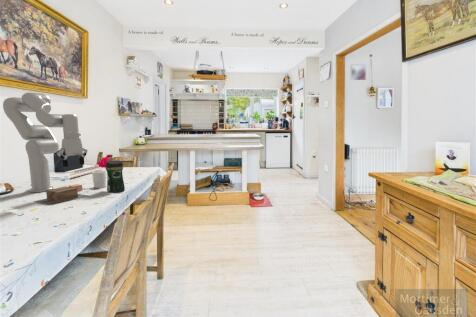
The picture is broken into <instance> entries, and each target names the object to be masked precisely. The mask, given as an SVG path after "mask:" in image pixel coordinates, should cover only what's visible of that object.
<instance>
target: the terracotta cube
mask: <svg viewBox="0 0 476 317" xmlns="http://www.w3.org/2000/svg"><path fill="white" fill-rule="evenodd" d="M67 187H72V188H77V192H78V193H79V192H82V191H83V184H79V183H76V184H72V185H71V184H70V185H67Z"/></svg>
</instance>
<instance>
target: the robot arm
mask: <svg viewBox="0 0 476 317" xmlns="http://www.w3.org/2000/svg"><path fill="white" fill-rule="evenodd" d="M2 109H3V113H5V115H6V116H7V118H8V119H9V121H10V122H12V124H13V125H14V127H15V129H16V130H17V132H18V134H19V135H20V136H21V138H22V139H23V140H25V141H26V142H25V143H26V144H25V151H26V154H27V158H28V164H29V166H28V167H29V175H30V188H29V189H28V192H29V193H42V192H46V190H50V189H55V188H54V186H51V178H50V168H49V167H50V166H49V160H48V158H47V157H46V156H45V155H50V154H51V155H52V154H55V153H56V154H57V156H58V157H59V159H61V161H62V166H63V167H64V168H68V167H69V162H68V157H73V156H74V157H75V156H78V157H79V164H80V165H85V158H86V156H87V154H88V149H86V148H85V147H83V144H82V143H83V142H82V140H81V137H80V136H81V133H80V132H79V131H80V130H79V122H78V116H77V115H76V114H73V113H69V114H68V113H65V114H58V113H57V114H56V113H50V112H51V110H52V105H51V98H50V97H49V96H48V95H47V94H45V93H39V92H26V93H23V94H22V95H21V97H7V98H5V99H4V100H3V102H2ZM24 113H35V117H36V120H37V121H38V122H39V123H40V124H33V122H32V121H31V119H30V118H29V117H28V116H27V115H26V114H24ZM50 128H62V131H63V138H62V140H61V149H60V145H59V143H58V141H57V139H56V137H55V136H54V134H53V132H52V130H50Z"/></svg>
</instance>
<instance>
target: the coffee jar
mask: <svg viewBox="0 0 476 317" xmlns="http://www.w3.org/2000/svg"><path fill="white" fill-rule="evenodd" d="M123 170H124V164H123V161H122V160H110V161H106V162H105V171H106V179H107V180H106V191H107V193H111V194H112V193H120V192H123V191H125V182H124V177H123V175H124V174H123Z"/></svg>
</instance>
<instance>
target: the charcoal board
mask: <svg viewBox="0 0 476 317" xmlns="http://www.w3.org/2000/svg"><path fill="white" fill-rule="evenodd" d="M87 197H89V195H88V194H87V195H86V194H81V193H78V198H73V199H69V200H65V201H61V202H56V201H51V200H47V198H44V199H43V198H42V199H39V200H34V201H33V203H38V204H42V205H49V206H54V205H55V206H56V205H59V204H63V203H67V202H72V201H74V200H80V199H83V198H87Z"/></svg>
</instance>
